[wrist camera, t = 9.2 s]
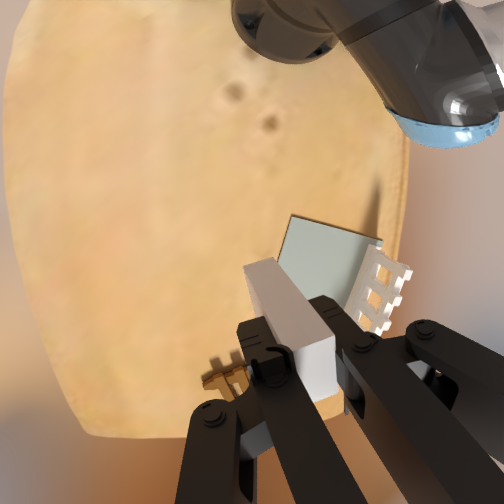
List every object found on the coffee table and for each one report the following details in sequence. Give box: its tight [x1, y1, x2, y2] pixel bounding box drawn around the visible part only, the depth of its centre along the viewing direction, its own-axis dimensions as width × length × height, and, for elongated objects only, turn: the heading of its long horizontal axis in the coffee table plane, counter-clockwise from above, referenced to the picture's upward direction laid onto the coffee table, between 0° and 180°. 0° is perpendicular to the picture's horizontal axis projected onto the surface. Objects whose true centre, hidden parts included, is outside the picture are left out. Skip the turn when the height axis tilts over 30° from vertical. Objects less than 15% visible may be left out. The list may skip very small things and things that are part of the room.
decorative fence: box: [202, 366, 250, 402], centre depth 50 cm, size 25×2×10 cm
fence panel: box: [349, 249, 413, 336], centre depth 43 cm, size 18×2×9 cm, turn 165°
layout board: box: [245, 216, 383, 364], centre depth 47 cm, size 25×17×1 cm
